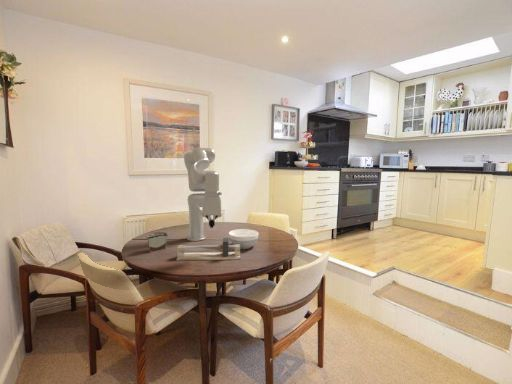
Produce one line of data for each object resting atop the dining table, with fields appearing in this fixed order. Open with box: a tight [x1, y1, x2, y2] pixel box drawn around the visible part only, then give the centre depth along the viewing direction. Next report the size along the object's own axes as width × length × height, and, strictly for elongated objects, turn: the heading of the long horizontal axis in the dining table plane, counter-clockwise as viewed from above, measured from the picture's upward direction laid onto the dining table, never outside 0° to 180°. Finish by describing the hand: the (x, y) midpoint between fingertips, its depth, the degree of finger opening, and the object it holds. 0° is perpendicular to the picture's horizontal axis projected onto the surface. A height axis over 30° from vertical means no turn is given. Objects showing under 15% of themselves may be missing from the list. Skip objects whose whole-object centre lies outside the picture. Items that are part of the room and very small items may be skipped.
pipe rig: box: [176, 244, 241, 262], centre depth 139 cm, size 9×34×6 cm, turn 96°
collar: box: [222, 237, 229, 256], centre depth 139 cm, size 7×3×8 cm, turn 6°
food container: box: [145, 231, 168, 254], centre depth 149 cm, size 12×6×10 cm, turn 135°
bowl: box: [228, 228, 259, 250], centre depth 158 cm, size 19×19×9 cm
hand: (211, 227), depth 138 cm, fingers closed
